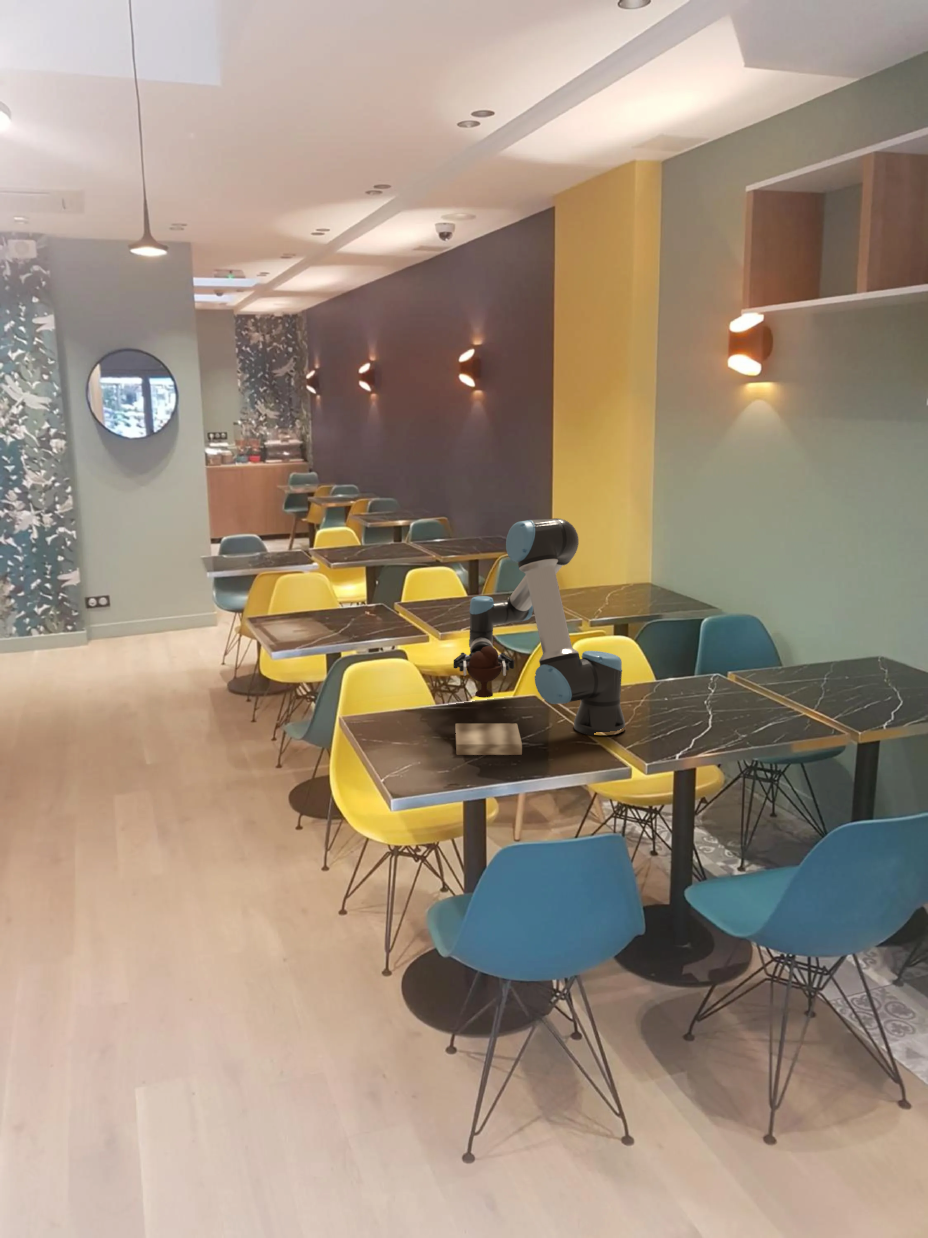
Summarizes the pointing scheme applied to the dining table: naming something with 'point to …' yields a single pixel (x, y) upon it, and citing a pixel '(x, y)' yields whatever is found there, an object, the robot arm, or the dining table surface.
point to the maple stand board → (488, 739)
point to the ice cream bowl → (484, 669)
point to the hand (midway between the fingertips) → (484, 671)
